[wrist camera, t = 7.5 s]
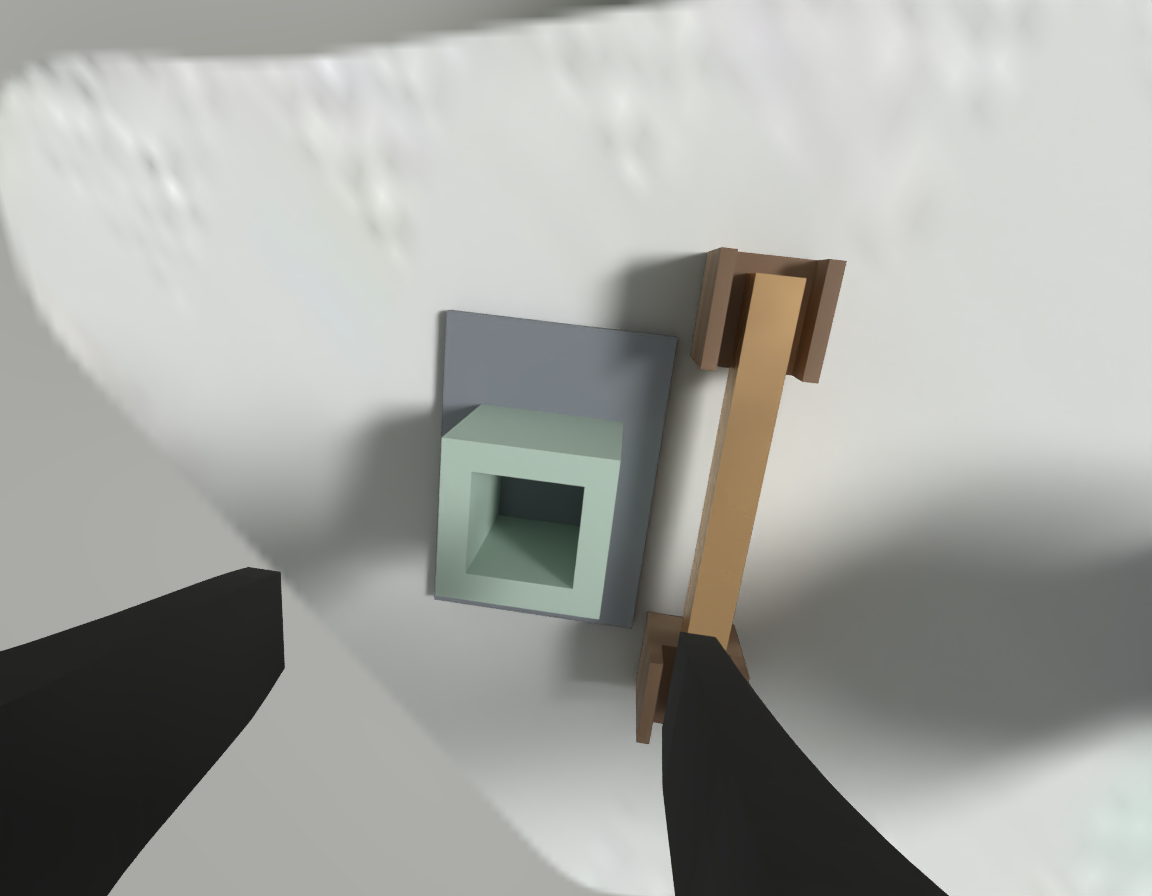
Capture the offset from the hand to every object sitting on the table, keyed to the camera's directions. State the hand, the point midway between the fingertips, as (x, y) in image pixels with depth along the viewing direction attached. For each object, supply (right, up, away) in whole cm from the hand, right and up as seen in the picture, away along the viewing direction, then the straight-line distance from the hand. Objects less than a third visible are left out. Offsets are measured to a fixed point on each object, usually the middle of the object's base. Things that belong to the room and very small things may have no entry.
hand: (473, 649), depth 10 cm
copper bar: (+6, +1, +7) cm, 9 cm away
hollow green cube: (+1, +3, +9) cm, 9 cm away
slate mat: (+1, +3, +9) cm, 9 cm away
